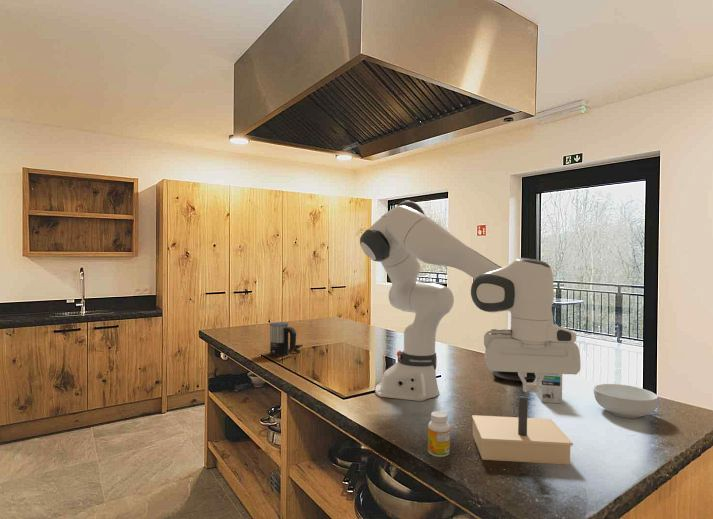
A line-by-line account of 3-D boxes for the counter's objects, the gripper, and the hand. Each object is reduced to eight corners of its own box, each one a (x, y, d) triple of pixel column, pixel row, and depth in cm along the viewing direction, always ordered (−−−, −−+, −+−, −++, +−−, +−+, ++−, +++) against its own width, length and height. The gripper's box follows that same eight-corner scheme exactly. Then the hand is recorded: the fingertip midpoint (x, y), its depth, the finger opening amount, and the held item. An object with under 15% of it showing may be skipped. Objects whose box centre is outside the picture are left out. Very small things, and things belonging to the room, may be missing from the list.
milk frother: (266, 355, 205) (266, 324, 204) (278, 348, 220) (278, 319, 220) (295, 357, 202) (295, 325, 202) (305, 349, 218) (305, 320, 217)
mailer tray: (482, 461, 103) (482, 440, 103) (472, 436, 117) (472, 417, 117) (569, 466, 101) (570, 444, 101) (549, 440, 115) (549, 421, 115)
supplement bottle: (425, 448, 110) (425, 410, 109) (446, 447, 110) (446, 409, 110) (430, 458, 104) (431, 418, 104) (452, 457, 105) (453, 418, 104)
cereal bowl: (647, 408, 140) (648, 386, 140) (665, 427, 124) (666, 403, 124) (589, 401, 145) (589, 380, 145) (599, 419, 130) (599, 396, 130)
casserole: (506, 366, 189) (506, 347, 189) (550, 374, 177) (551, 354, 177) (481, 378, 171) (481, 357, 170) (529, 389, 158) (529, 366, 158)
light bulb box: (562, 404, 143) (563, 371, 143) (540, 402, 144) (541, 370, 144) (554, 393, 153) (555, 363, 153) (534, 392, 155) (534, 362, 154)
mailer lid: (481, 440, 102) (482, 400, 102) (471, 417, 117) (472, 382, 117) (572, 445, 100) (573, 404, 100) (551, 421, 115) (551, 385, 115)
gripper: (486, 331, 95) (485, 393, 96) (584, 334, 93) (583, 398, 93) (481, 326, 102) (480, 385, 102) (573, 329, 99) (571, 389, 100)
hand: (530, 391), depth 98 cm, fingers closed
